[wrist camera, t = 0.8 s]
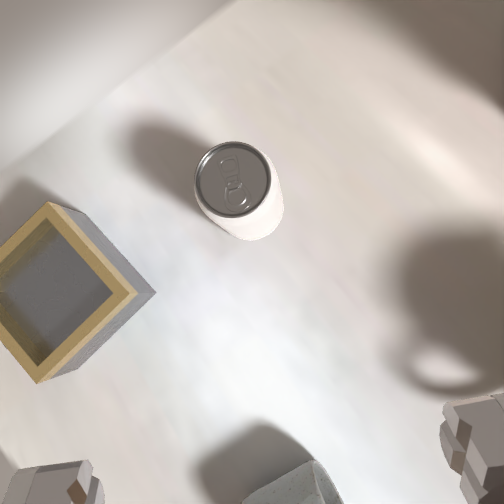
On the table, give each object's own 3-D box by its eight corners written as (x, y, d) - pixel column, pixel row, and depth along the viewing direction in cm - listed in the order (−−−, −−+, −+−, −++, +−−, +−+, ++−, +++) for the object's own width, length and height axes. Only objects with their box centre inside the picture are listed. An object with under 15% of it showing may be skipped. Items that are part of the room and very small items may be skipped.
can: (227, 248, 44) (200, 234, 33) (211, 186, 45) (178, 149, 33) (291, 231, 44) (287, 210, 32) (274, 167, 45) (264, 124, 33)
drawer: (85, 214, 46) (47, 201, 39) (156, 292, 45) (129, 293, 38) (-5, 302, 47) (-59, 304, 40) (62, 383, 45) (19, 400, 38)
